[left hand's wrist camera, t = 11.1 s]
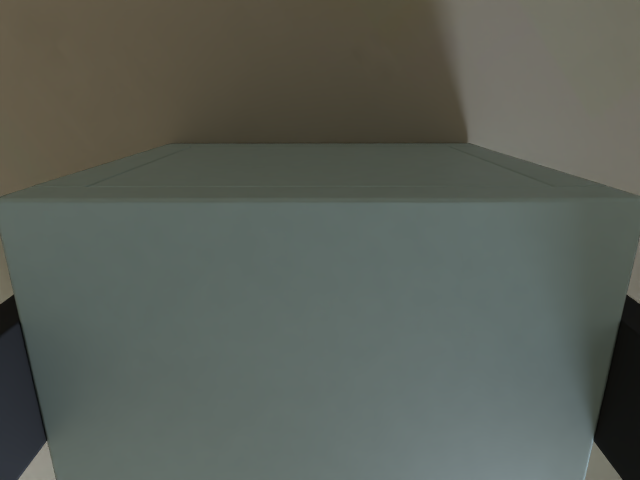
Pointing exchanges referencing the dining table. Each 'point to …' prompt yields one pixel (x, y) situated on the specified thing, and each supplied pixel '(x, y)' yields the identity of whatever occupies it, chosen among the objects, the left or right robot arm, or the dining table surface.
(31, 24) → the dining table surface
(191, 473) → the cabinet
